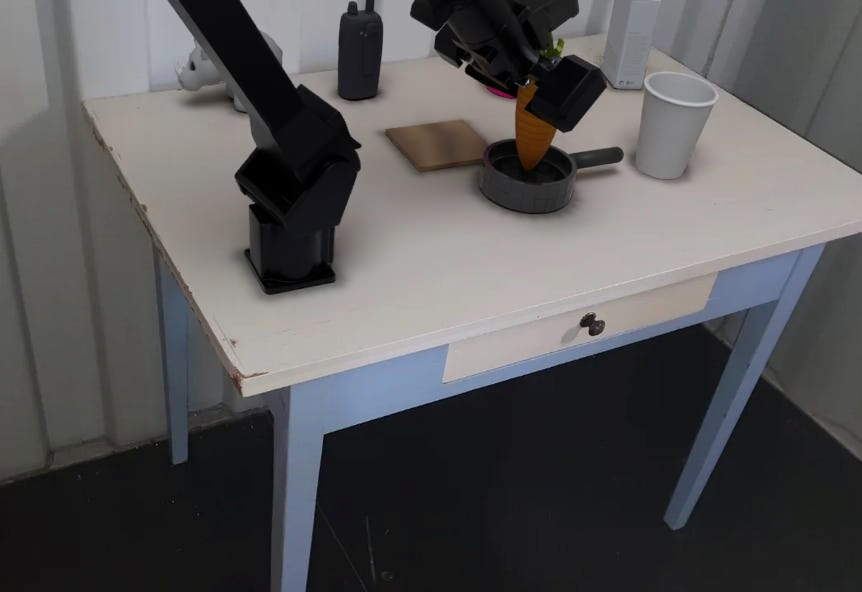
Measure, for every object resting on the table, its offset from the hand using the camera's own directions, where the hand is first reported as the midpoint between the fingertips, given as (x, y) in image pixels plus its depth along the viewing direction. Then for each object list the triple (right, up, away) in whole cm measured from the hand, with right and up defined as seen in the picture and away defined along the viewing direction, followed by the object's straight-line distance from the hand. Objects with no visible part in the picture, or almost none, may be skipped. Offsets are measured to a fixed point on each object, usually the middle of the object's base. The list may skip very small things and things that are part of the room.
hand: (548, 109), depth 94 cm
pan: (-2, -7, +5) cm, 9 cm away
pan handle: (+5, -4, +8) cm, 10 cm away
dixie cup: (+14, -4, +13) cm, 20 cm away
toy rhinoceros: (-36, +3, +12) cm, 38 cm away
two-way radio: (-22, +6, +17) cm, 28 cm away
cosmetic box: (+12, +12, +32) cm, 36 cm away
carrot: (-2, -6, +4) cm, 7 cm away
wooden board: (-11, -2, +10) cm, 15 cm away
